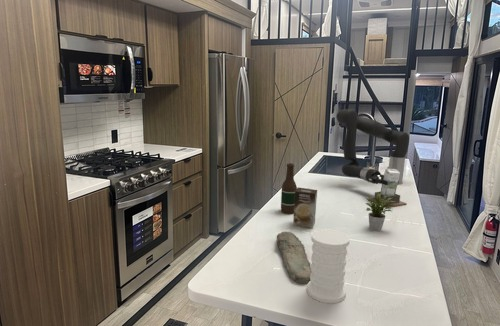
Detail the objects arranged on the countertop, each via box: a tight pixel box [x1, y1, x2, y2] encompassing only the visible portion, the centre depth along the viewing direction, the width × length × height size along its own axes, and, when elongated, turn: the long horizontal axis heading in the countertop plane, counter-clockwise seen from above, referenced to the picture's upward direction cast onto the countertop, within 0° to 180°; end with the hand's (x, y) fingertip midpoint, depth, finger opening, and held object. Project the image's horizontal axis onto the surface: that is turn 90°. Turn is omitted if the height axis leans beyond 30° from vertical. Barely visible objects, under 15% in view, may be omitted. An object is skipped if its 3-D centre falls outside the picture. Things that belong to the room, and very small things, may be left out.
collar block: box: [367, 191, 408, 209], centre depth 191 cm, size 14×14×6 cm
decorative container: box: [306, 228, 350, 304], centre depth 106 cm, size 12×12×18 cm
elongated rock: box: [276, 231, 311, 285], centre depth 128 cm, size 35×5×10 cm
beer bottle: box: [280, 162, 298, 215], centre depth 172 cm, size 8×8×24 cm
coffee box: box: [292, 186, 318, 229], centre depth 157 cm, size 9×6×16 cm
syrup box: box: [379, 168, 400, 197], centre depth 189 cm, size 6×6×14 cm
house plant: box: [364, 191, 399, 232], centre depth 154 cm, size 14×14×16 cm
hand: (392, 182), depth 187 cm, fingers open, 7 cm apart
